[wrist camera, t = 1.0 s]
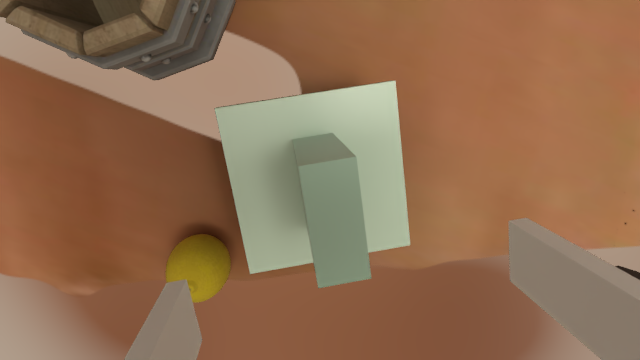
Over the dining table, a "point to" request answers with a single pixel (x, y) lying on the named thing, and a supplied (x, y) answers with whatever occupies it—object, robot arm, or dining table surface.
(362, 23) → the dining table surface
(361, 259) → the lid
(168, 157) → the dining table surface
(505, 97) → the dining table surface
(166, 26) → the tankard
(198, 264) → the lemon
